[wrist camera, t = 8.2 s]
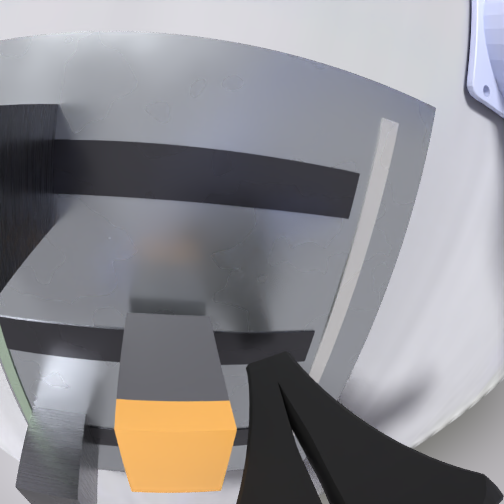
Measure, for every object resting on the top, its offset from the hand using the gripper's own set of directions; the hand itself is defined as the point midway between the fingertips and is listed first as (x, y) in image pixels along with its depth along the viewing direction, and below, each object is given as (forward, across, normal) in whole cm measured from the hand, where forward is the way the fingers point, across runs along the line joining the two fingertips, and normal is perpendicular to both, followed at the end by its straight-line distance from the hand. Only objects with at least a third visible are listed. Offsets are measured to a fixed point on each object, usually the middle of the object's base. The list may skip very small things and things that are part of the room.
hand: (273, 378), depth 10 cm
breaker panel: (+3, +2, -1) cm, 4 cm away
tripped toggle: (+1, +3, -1) cm, 3 cm away
